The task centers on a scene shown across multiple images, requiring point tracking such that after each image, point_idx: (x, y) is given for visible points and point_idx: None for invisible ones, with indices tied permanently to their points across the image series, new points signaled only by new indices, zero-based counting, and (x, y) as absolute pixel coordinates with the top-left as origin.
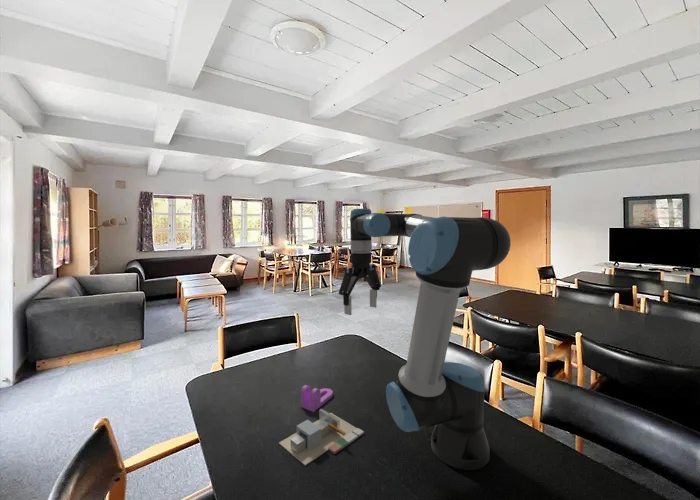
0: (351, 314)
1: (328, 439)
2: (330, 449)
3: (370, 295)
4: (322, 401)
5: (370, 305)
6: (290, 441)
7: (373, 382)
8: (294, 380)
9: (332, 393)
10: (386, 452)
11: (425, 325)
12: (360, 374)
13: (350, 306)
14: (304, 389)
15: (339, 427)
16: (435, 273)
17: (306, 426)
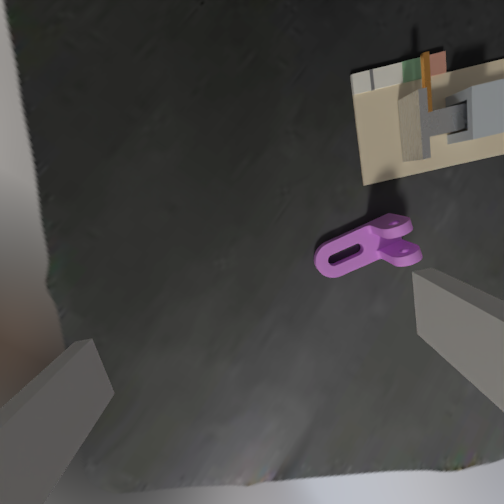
0: (414, 271)
1: None
2: (445, 64)
3: (34, 499)
4: (361, 228)
5: (106, 393)
6: (487, 143)
7: (198, 244)
8: (352, 352)
9: (320, 247)
10: None
11: None
12: (203, 295)
13: (491, 303)
14: (419, 249)
15: (407, 95)
16: None
17: (491, 115)
